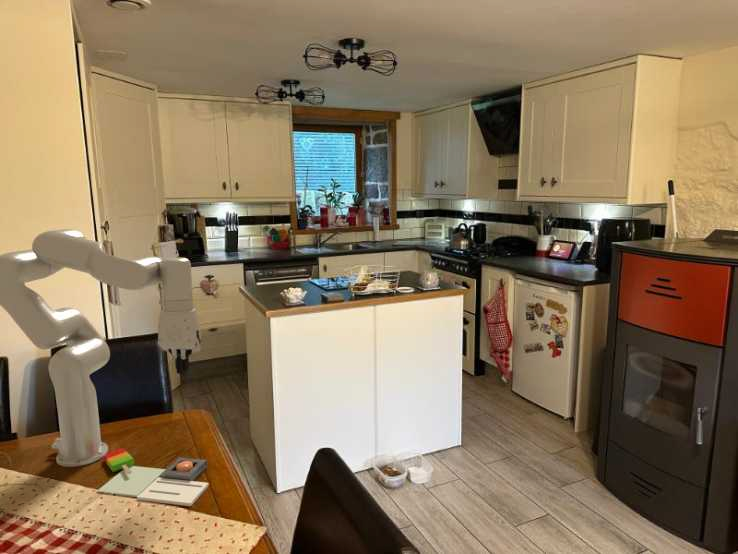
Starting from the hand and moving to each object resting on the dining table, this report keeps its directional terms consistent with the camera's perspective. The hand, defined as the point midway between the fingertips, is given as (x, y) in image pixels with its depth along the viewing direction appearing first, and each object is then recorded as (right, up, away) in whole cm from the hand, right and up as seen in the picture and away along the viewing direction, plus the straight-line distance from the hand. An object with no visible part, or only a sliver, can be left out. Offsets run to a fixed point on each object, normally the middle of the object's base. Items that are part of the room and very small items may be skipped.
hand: (182, 371), depth 137 cm
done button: (+2, -25, -3) cm, 26 cm away
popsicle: (-11, -25, -6) cm, 28 cm away
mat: (-10, -27, -7) cm, 29 cm away
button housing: (+2, -26, -3) cm, 26 cm away
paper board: (+2, -27, -12) cm, 30 cm away
